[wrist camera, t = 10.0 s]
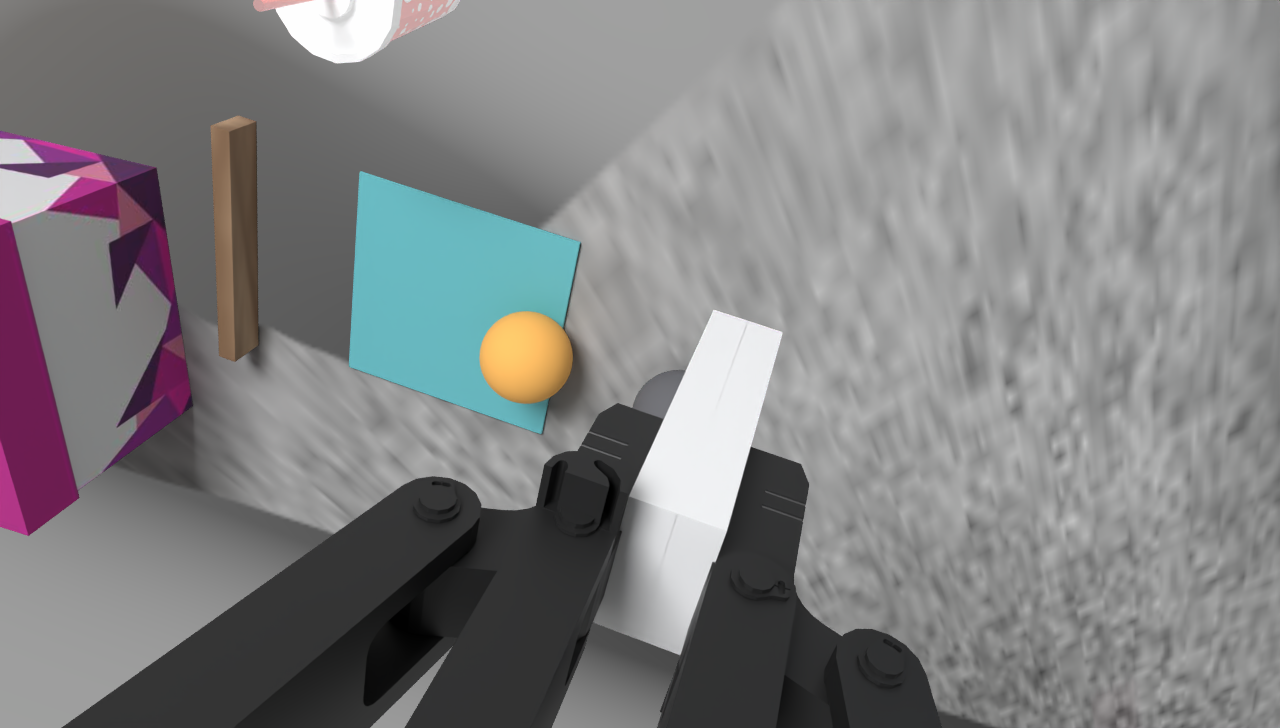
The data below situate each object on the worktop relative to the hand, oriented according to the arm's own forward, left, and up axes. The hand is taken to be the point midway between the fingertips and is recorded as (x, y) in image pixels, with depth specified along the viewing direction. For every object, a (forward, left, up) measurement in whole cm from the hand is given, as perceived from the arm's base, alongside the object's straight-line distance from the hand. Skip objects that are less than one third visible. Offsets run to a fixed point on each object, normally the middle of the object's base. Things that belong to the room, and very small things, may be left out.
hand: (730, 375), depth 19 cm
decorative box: (+48, +26, -30) cm, 62 cm away
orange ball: (+12, +19, -27) cm, 35 cm away
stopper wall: (+33, +19, -29) cm, 48 cm away
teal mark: (+18, +19, -29) cm, 39 cm away
